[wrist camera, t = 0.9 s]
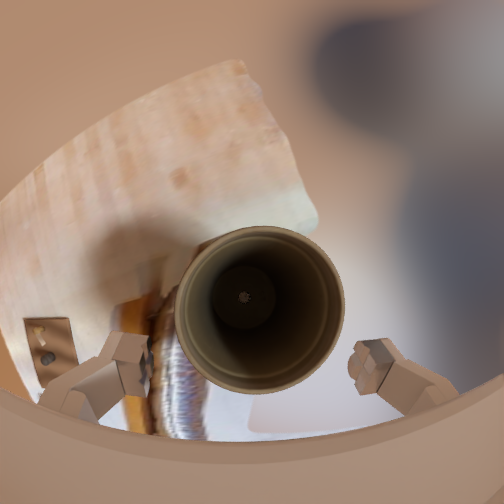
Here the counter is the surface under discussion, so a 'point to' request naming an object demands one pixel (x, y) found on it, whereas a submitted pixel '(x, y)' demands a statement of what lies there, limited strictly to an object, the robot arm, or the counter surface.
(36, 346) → the post board
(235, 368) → the plant pot
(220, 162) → the counter surface
